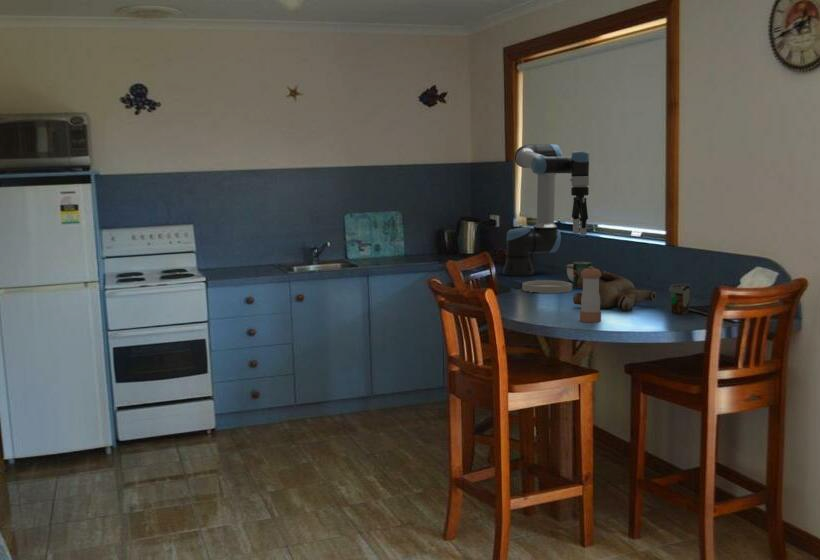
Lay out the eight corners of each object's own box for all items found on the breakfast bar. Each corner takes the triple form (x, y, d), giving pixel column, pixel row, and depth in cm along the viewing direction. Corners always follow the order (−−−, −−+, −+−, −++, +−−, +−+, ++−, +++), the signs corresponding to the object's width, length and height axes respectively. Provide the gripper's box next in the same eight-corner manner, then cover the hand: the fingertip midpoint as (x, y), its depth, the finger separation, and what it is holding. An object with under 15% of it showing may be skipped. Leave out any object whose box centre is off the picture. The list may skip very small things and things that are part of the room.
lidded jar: (591, 283, 395) (592, 262, 393) (568, 283, 395) (568, 263, 394) (587, 280, 405) (587, 260, 404) (564, 280, 405) (565, 260, 404)
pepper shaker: (591, 323, 293) (591, 267, 290) (575, 320, 299) (576, 266, 296) (605, 320, 297) (606, 266, 294) (589, 318, 303) (590, 264, 300)
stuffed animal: (573, 271, 322) (636, 283, 308) (605, 269, 347) (664, 281, 333) (567, 304, 323) (630, 318, 309) (599, 300, 349) (659, 313, 334)
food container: (672, 309, 320) (673, 282, 318) (689, 310, 316) (690, 283, 315) (664, 314, 309) (665, 286, 308) (681, 315, 306) (682, 287, 305)
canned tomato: (594, 287, 380) (594, 262, 378) (578, 288, 377) (579, 263, 376) (584, 285, 387) (585, 261, 386) (569, 286, 384) (569, 262, 383)
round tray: (519, 286, 384) (519, 280, 384) (566, 286, 385) (566, 280, 384) (526, 293, 364) (526, 287, 363) (575, 292, 364) (575, 286, 363)
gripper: (565, 186, 388) (565, 232, 391) (578, 186, 363) (577, 236, 366) (581, 186, 388) (581, 232, 391) (595, 186, 364) (594, 236, 366)
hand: (579, 234), depth 379 cm, fingers open, 13 cm apart
